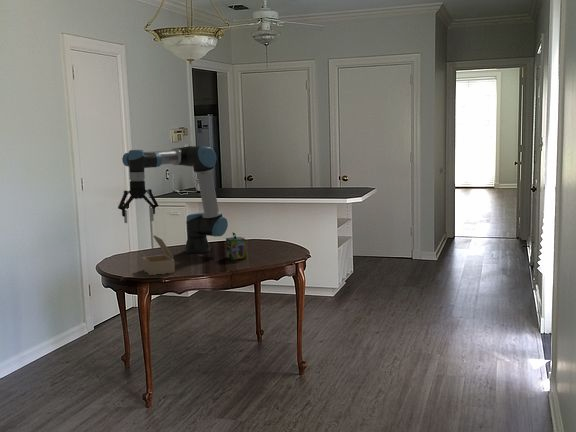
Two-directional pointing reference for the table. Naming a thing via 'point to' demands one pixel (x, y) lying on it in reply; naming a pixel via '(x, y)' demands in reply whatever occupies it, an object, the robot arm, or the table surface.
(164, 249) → the lid
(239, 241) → the colorful juice box
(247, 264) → the table surface
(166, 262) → the box
